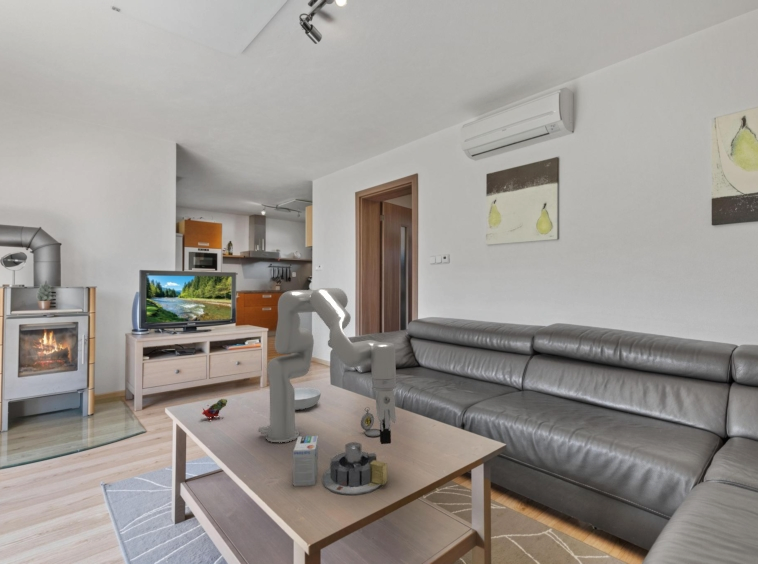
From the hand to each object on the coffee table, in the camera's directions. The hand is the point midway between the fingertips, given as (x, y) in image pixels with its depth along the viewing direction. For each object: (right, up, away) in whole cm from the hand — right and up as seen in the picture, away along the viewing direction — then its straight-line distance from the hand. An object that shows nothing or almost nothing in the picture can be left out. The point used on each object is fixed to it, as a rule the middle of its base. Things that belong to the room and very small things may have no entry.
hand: (385, 442), depth 119 cm
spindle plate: (-10, -11, -1) cm, 14 cm away
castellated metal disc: (-8, -9, -1) cm, 12 cm away
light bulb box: (-25, -11, 0) cm, 27 cm away
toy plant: (-76, -12, +54) cm, 94 cm away
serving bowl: (-41, -12, +70) cm, 82 cm away
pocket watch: (-5, -11, +35) cm, 37 cm away
